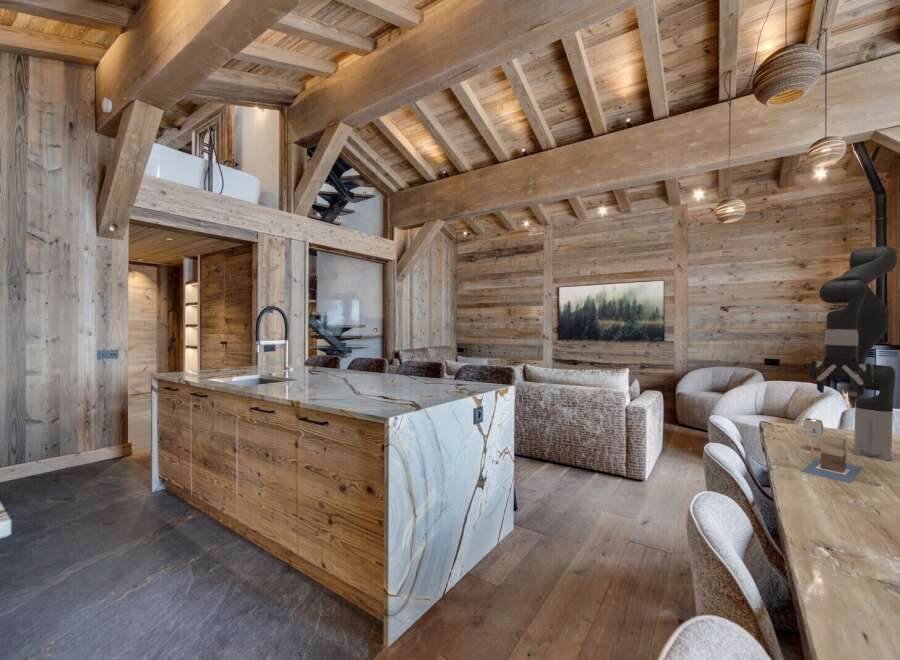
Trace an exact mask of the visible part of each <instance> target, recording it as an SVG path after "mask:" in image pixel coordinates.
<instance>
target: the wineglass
mask: <svg viewBox="0 0 900 660" xmlns="http://www.w3.org/2000/svg"><path fill="white" fill-rule="evenodd" d="M824 429H825V428H824V424H823V421H822V420H821V419H817V418H807V417H806V418H804V420H803V424H802V432H803V433H804V434H805V435H807V436H808V437H810V442H811V448H810V450H812V451H814V450H815V448H814V443H815V438H819V437H822V436H823V435H824V432H825V431H824Z"/></svg>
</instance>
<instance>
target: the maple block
mask: <svg viewBox="0 0 900 660" xmlns="http://www.w3.org/2000/svg"><path fill="white" fill-rule="evenodd" d="M821 453H825V454H830V455H835V456H840V457H843V456H844V455H845V454H846V455H847V438H846V437H840V436H835V435H829V434H823V435H821V436H820V454H821Z"/></svg>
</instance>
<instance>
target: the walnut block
mask: <svg viewBox="0 0 900 660" xmlns="http://www.w3.org/2000/svg"><path fill="white" fill-rule="evenodd" d="M820 458H821V467H820V468H822V469H826V470H831V471H835V472H839V473H843V472H844V471H845V470H846V464H847V453H846V454H845V455H844V456H843V457H840V456H835V455H830V454H825V453H821V452H820Z"/></svg>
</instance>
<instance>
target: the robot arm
mask: <svg viewBox="0 0 900 660" xmlns="http://www.w3.org/2000/svg"><path fill="white" fill-rule="evenodd" d="M848 261H849V269H848V270H846V271H845V272H843V273H842V274H841V275H840V276H837V277H835V278H833V279H832V278H831V279H830V280H827V281H826V282H824V283H823V284H822V285H821V287H820V289H819V293H818V294H819V298H820V299H821V301H823V302H824V303H827V304H847V305H846V306H845V307H844V308H843V309H837V310H831V311H829V312H828V313H827V314H826V325H825V326H826V328H825V336H824V360H823V361H820V360H816V359H815V360H811V361H810V368H809V369H810V370H809V378H810V379H813V380H815V381H816V390H817V391H818V392H819V393H822V394H823V393H824V391H825V380H824V379H826V378H827V377H828V376H830V375H832V376H842V377H849V376H850V377H849V378H850V379H849V380H850V383H851V385H852V387H853V388H855V389H856V397H858V399H856V400H855V404H854V405H855V406H854V407H855V410H854V439H853V440H854V441H853V453H854V455H856V456H859V457H864V458H865V457H866V458H871V459H875V460H879V461H891V460H892V448H893V447H892V445H893V444H892V442H893V439H892V438H893V414H894V413H893V412H894V394H895V385H896V371H895V368H894V367H893V366H890V365H882V364H881V365H880V364H872V363H870V362H869V363H866V358H867V356H868V354H869V352H870V351H871V350H872V349H873V347H874V346H876V344H877V343H879V341H880V340H881V339H882V338H883V337H884V336H885V335H886V334H887V332H888V330H889V329H890V328H889V327H890V310H889V308H888V307H887V305H886V304H885V303H884V302H883V301H882V300H881V299H880V297H878V296H877V295H876V294H875V293H874V291H872V289H871V287H870V286H869V285H870V283H871V282H873V281H875V280H876V279H879V278H880V277H882V276H884V275H886V274H888V273H889V272H891V271H893V270H894V269H895V268H896V266H897V261H898V254H897V251H896V249H895V248H894V247H892V246H886V245H884V246H874V247H864V248H857V249H854V250H852V251H851V253H850V255H849V260H848ZM820 366H823V367H824V369H825V370H824V371H823V372H822V373H821V374H820V375H817V371H818V368H819V367H820ZM865 390H869V391H878V394H877V395H875V396H871V397H865V398H861V397H862V396H864V394H865Z"/></svg>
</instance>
